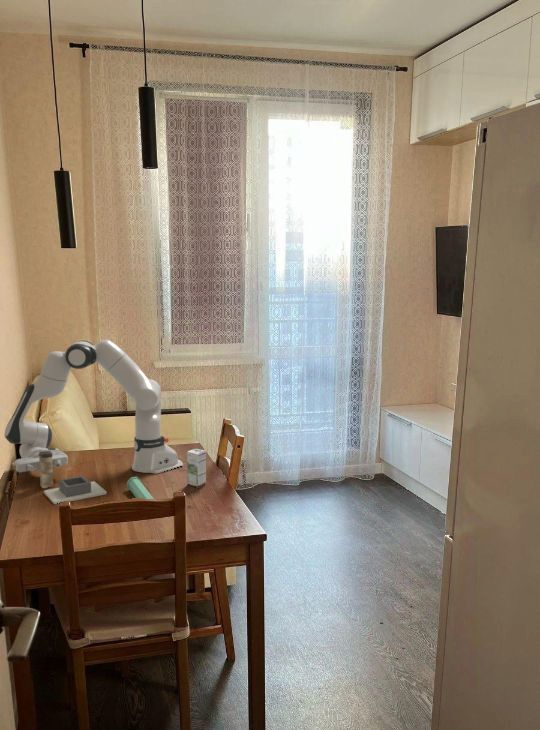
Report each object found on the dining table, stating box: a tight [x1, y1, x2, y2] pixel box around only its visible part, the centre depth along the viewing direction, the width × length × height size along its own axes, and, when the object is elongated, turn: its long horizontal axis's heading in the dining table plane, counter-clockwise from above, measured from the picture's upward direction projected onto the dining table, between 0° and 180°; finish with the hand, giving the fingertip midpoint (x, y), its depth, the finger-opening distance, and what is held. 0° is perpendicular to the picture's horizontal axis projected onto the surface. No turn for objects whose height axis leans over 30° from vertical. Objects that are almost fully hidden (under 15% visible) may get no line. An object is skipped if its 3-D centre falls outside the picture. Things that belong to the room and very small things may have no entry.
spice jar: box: [39, 451, 54, 489], centre depth 241 cm, size 4×4×14 cm
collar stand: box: [43, 475, 108, 505], centre depth 234 cm, size 20×14×5 cm
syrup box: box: [186, 448, 207, 486], centre depth 247 cm, size 6×6×14 cm
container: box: [126, 476, 155, 500], centre depth 229 cm, size 6×6×25 cm
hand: (46, 467), depth 240 cm, fingers open, 8 cm apart
